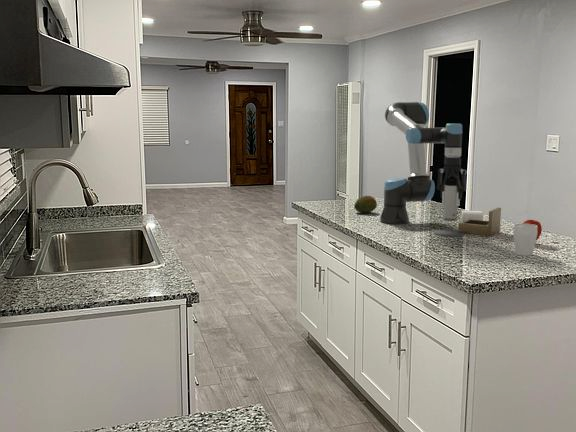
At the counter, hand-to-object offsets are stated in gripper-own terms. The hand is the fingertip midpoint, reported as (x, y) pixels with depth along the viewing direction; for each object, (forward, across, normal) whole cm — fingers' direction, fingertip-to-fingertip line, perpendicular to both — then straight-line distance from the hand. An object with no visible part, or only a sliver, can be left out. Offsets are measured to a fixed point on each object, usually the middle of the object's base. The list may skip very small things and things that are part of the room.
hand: (450, 205), depth 275 cm
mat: (+14, 0, 0) cm, 14 cm away
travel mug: (+7, 0, 0) cm, 7 cm away
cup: (+14, +40, -23) cm, 48 cm away
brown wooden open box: (+14, +10, +11) cm, 20 cm away
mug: (+14, +1, +28) cm, 32 cm away
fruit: (+14, -63, +32) cm, 72 cm away
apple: (+14, +37, 0) cm, 40 cm away
